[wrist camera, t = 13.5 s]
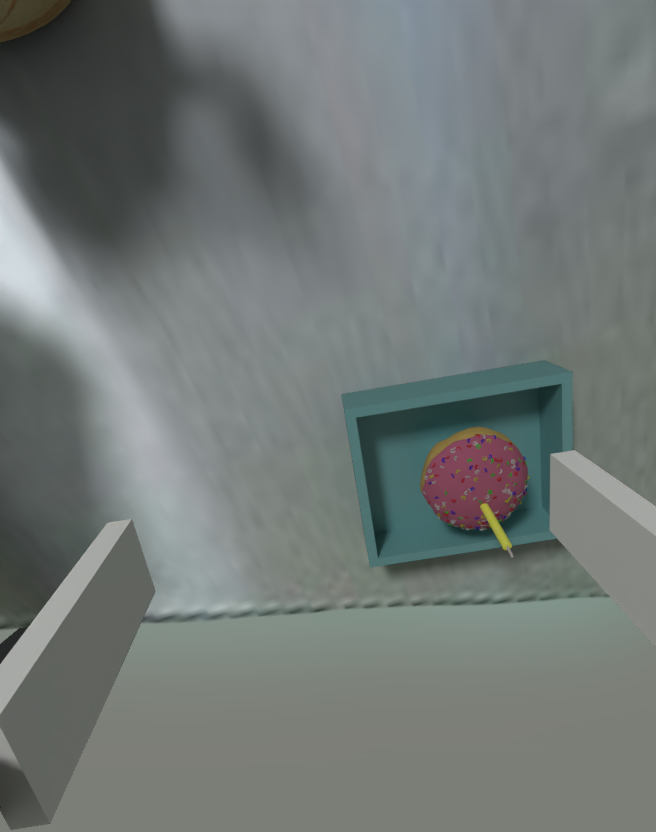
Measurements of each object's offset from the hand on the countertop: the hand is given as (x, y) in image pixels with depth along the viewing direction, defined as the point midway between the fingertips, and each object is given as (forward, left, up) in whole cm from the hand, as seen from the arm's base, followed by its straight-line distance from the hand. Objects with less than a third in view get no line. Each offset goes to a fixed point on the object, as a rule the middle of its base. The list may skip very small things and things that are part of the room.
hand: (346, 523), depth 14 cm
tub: (+9, -10, -26) cm, 29 cm away
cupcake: (+10, -11, -26) cm, 29 cm away
